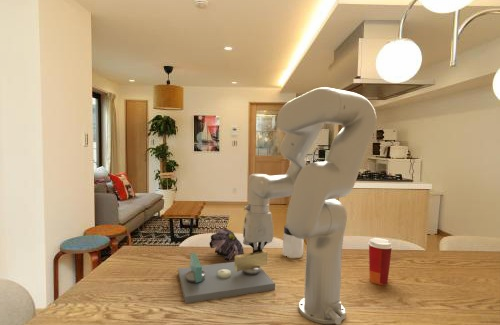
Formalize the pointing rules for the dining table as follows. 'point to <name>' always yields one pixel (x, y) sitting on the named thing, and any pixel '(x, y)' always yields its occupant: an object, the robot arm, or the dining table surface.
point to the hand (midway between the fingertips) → (257, 259)
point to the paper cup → (379, 260)
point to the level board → (223, 283)
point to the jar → (292, 245)
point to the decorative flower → (226, 244)
